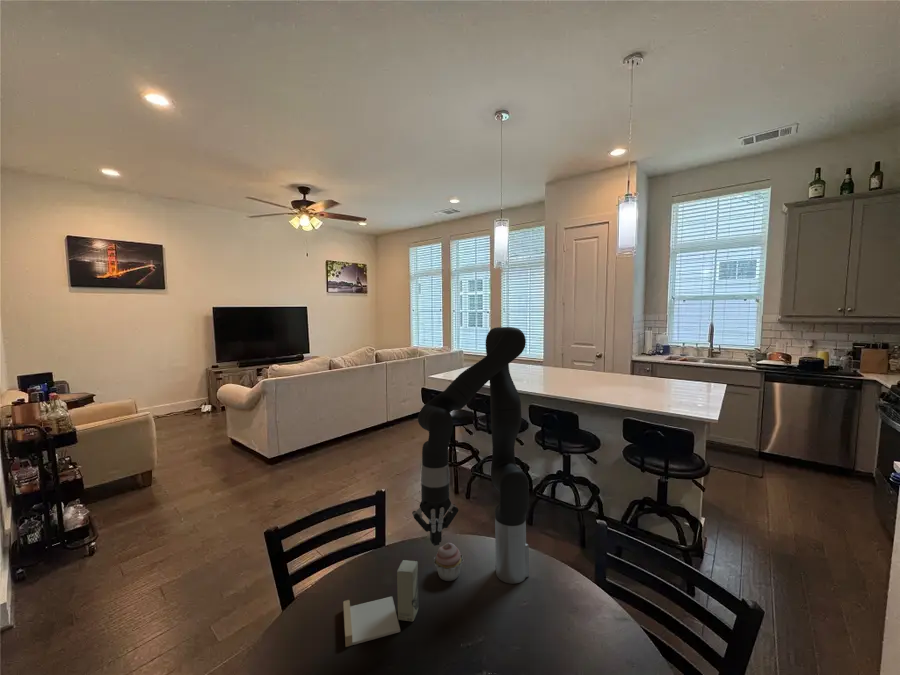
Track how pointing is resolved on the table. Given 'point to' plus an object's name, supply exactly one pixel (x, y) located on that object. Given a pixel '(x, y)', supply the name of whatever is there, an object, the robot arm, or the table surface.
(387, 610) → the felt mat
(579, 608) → the table surface
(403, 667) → the table surface
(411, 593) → the box
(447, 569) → the cupcake
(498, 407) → the robot arm
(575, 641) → the table surface
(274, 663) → the table surface
